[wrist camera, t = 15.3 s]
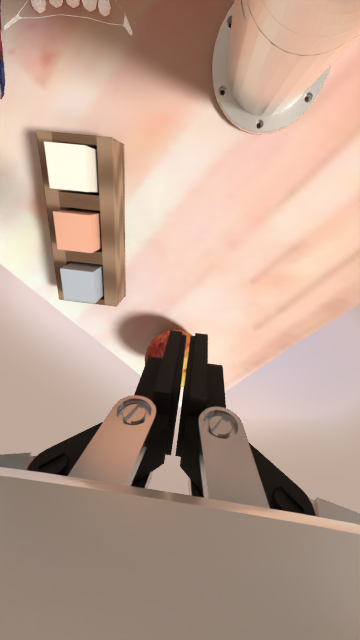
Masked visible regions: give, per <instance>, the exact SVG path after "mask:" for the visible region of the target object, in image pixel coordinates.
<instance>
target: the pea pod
mask: <svg viewBox="0 0 360 640" xmlns="http://www.w3.org/2000/svg"><path fill="white" fill-rule="evenodd" d="M27 1H28V0H27ZM27 1H26V3H27ZM49 2H50V4H51V5H52V6H54V7H55V8H58V7H60V6H62V3H63V0H49ZM66 2H67V4H68V5H69V6H71V7H72V8H76V7H78V6H79V3H80V0H66ZM116 2H117V1H116ZM26 3H25V4H26ZM31 3H32V6H33V9H34V10H36V11H37V12H39V13H42V12H44V11H45V9H46V0H31ZM82 3H83V6H84V8H85V9H87V10H88V11H89V12H91V11H93V10H95V9H96V5H97V0H82ZM25 4H24V6H25ZM118 5H119V4H118ZM24 6H23V7H24ZM23 7H22V8H21V10H22V9H23ZM120 8H121V7H120ZM98 9H99V12H100V14H102V15H103V16H104V17H105V16H107V15H109V13H110V10H111V6H110V2H109V0H99V2H98ZM21 10H20V11H21ZM20 11H19V13H20ZM122 11H123V10H122ZM123 12H124V11H123ZM19 13H18V14H17V15H16V16H15V17H13V18H12V19H11V20H10V21H9V22H8V23H7V24H6V25H5V26H4V27H3V28H4V29H7V28H8V27H9V26H11V25H12V24H13V23H15V22H16V21H17V20H19V19H20V18H32V17H20V15H19ZM124 14H125V13H124ZM57 15H63V14H57ZM57 15H50V16H57ZM50 16H43V17H50ZM65 16H72V15H65ZM43 17H35V18H33V19H36V18H43ZM73 17H81V16H73ZM82 18H89V17H82ZM90 19H92V18H90ZM93 20H96V19H93ZM96 21H99V20H96ZM100 22H103V21H100ZM103 23H106V22H103ZM107 24H112V23H107ZM113 25H120V24H113ZM122 26H124V27H125V28H126V30H127V31H128V33H129V34H130V35H131V36H132V33H133V32H132V30H131V27H130V25H129V22H128V20H127V17H126V14H125V17H124V23H123V25H122Z"/></svg>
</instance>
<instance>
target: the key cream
mask: <svg viewBox="0 0 360 640" xmlns="http://www.w3.org/2000/svg"><path fill="white" fill-rule="evenodd" d="M44 146H45V154H46V162H47V169H48V177H49V185H50V188H53V189H63V190H73V191H83V192H99V178H98V158H97V150H95V149H93V148H90V147H88V146H85V145H76V144H65V143H55V142H44Z"/></svg>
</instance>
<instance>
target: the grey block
mask: <svg viewBox="0 0 360 640" xmlns="http://www.w3.org/2000/svg"><path fill="white" fill-rule="evenodd" d="M60 272H61V280H62V288H63V296H64V300H71V301H79V302H87V303H96V302H97V301H98V300H99V299H100V298H101V297H102V296H103V295H104V279H103V265H100V264H91V263H82V262H72V263H70V264H68V265H66V266H64V267H62V268H60Z"/></svg>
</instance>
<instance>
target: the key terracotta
mask: <svg viewBox="0 0 360 640" xmlns="http://www.w3.org/2000/svg"><path fill="white" fill-rule="evenodd" d="M53 217H54V225H55V233H56V241H57V248H58V249H60V250H68V251H77V252H86V253H93V252H95V251H97V250H99V249H101V248H102V239H101V218H100V212H95V211H85V210H76V209H70V210H61V211H53Z"/></svg>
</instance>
